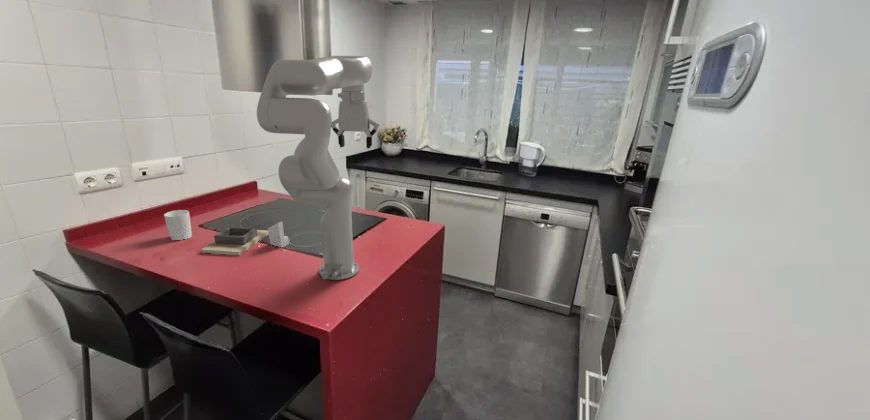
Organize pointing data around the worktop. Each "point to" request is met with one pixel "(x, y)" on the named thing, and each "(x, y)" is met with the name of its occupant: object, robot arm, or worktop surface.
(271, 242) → the white wedge bracket
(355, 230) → the worktop surface
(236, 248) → the board
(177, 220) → the white cup
